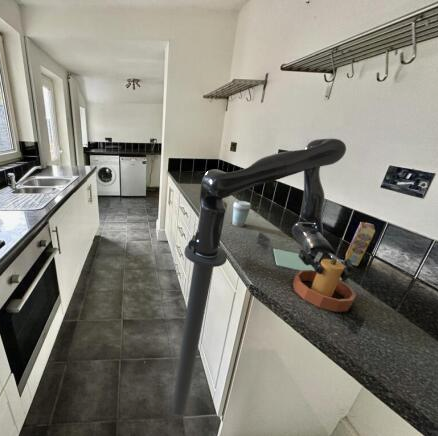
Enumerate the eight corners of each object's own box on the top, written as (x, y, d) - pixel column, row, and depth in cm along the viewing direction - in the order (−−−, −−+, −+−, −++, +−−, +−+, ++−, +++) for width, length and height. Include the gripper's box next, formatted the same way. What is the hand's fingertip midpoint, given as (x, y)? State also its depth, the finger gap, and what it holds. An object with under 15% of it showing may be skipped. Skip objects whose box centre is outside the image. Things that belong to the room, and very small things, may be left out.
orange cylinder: (312, 296, 70) (326, 261, 65) (308, 286, 75) (321, 253, 70) (333, 302, 68) (349, 266, 64) (328, 291, 73) (342, 257, 68)
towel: (276, 265, 86) (277, 264, 85) (273, 249, 98) (273, 248, 98) (341, 280, 79) (342, 279, 79) (329, 261, 91) (329, 260, 91)
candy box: (359, 267, 88) (375, 230, 82) (344, 262, 90) (360, 227, 85) (358, 258, 94) (374, 224, 89) (345, 254, 97) (359, 221, 91)
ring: (297, 301, 68) (301, 291, 66) (289, 275, 80) (293, 265, 79) (358, 318, 63) (364, 307, 61) (340, 287, 75) (344, 277, 74)
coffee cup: (226, 223, 122) (230, 202, 118) (234, 220, 127) (238, 199, 123) (241, 229, 116) (247, 206, 112) (249, 225, 122) (254, 203, 117)
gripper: (297, 234, 82) (308, 256, 67) (346, 243, 77) (369, 269, 62) (291, 253, 84) (300, 278, 70) (338, 262, 80) (359, 292, 65)
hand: (333, 274), depth 66 cm, fingers closed on orange cylinder, 5 cm apart
